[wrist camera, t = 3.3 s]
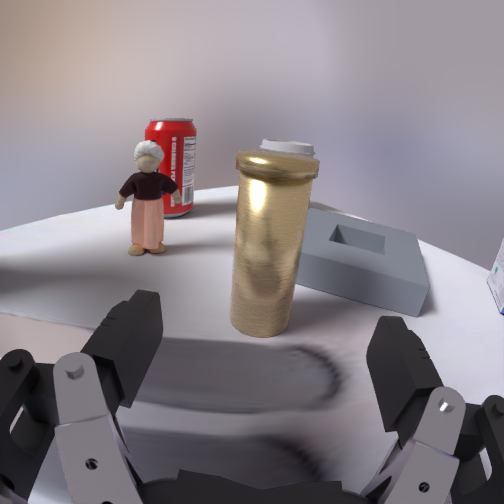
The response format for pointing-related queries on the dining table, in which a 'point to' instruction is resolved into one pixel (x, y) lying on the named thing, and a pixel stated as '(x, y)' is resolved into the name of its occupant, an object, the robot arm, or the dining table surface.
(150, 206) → the grandmother figurine
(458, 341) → the dining table surface
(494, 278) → the ink cartridge box
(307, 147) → the disposable coffee cup
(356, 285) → the jig plate
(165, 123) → the soda can
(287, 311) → the brass sleeve
